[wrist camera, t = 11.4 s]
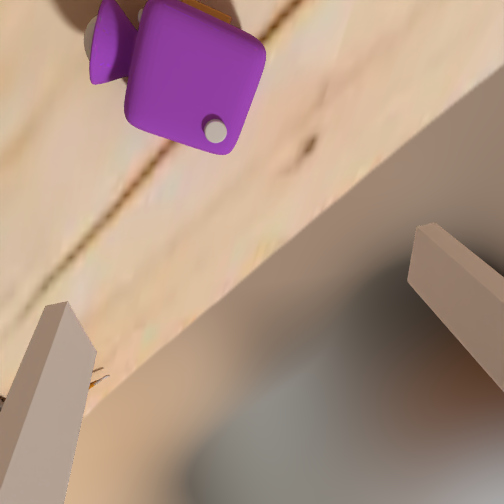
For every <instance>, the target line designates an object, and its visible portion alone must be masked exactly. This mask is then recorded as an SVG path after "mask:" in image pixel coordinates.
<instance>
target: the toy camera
mask: <svg viewBox="0 0 504 504" xmlns="http://www.w3.org/2000/svg"><path fill="white" fill-rule="evenodd" d="M231 19H232V17H230V16H228V15H226V14H224V13H222V12H220V11H217V10H215V9H213V8H211V7H209V6H206V5H204V4H202V3H200V2H198V1H195V0H182V1H179V0H148V1H147V3H146V4H145V7H144V9H143V8H142V9H140V11H139V13H138V22H139V23H140V24H139V28H138V31H137V30H136V29H135V27H134V26H133V25H132V23H131V22H130V21H129V19H128V18H127V16H126V15H125V13H124V12H123V10H122V9H121V8H120V6H119V5H118V4H117V2H116V1H115V0H102V3H101V5H100V8H99V11H98V15H96V16H95V17H94V18H92V19H91V21H90V22H89V23H88V25H87V28H86V30H85V34H84V47H85V51H86V55H87V57H88V59H89V61H90V66H89V71H90V80H91V83H92V84H95V85H96V84H102V83H106V82H109V81H113V80H116V79H119V78H122V77H126V76H129V78H128V83H127V89H126V95H125V102H124V112H125V117H126V119H127V121H128V122H129V123H130V124H131V125H133V126H134V127H136V128H138V129H141V130H143V131H146V132H149V133H152V134H155V135H158V136H161V137H164V138H167V139H170V140H173V141H176V142H179V143H182V144H185V145H188V146H191V147H194V148H197V149H200V150H203V151H206V152H209V153H213V154H218V155H226V154H228V153H230V152H231V151H232V149H233V148H234V146H235V144H236V142H237V140H238V138H239V135H240V133H241V130H242V127H243V125H244V122H245V119H246V116H247V114H248V111H249V108H250V106H251V103H252V100H253V97H254V95H255V92H256V89H257V87H258V84H259V81H260V78H261V75H262V72H263V69H264V66H265V61H266V51H265V48H264V46H263V44H262V43H261V42H260V41H259V40H258V39H257V38H255V37H254V36H252V35H250V34H249V33H247V32H245V31H243V30H241V29H239V28H237V27H235V26H233V25H230V23H231Z"/></svg>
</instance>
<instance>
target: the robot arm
mask: <svg viewBox="0 0 504 504" xmlns="http://www.w3.org/2000/svg"><path fill="white" fill-rule="evenodd" d="M407 281H408V283H409V284H410V285H411V286H412V287H413V288H414V289H415V291H416V292H417V293H418V294H419V295H420V297H421V298H422V299H423V300H424V301H425V302H426V303H427V305H428V306H429V307H430V308H431V309H432V310H433V311H434V313H436V315H437V316H438V317H439V318H440V319H441V321H442V322H443V323H444V324H445V325H446V326H447V327H448V329H449V330H450V331H451V332H452V333H453V334H454V335H455V336H456V338H457V339H458V340H459V341H460V342H461V344H462V345H463V346H464V347H465V348H466V349H467V350H468V351H469V353H470V354H471V355H472V356H473V357H474V358H475V360H476V361H477V362H478V363H479V364H480V365H481V366H482V368H483V369H484V370H485V371H486V372H487V373H488V374H489V376H490V377H491V378H492V379H493V380H494V381H495V382H496V383H497V385H498V386H499V387H500V388H501V389H502V390H503V392H504V277H502V276H501V275H500V274H499V273H497V272H496V271H495V270H494V269H492V268H491V267H490V266H489V265H487V264H486V263H485V262H484V261H482V260H481V259H480V258H478V257H477V256H476V255H475V254H474V253H472V252H471V251H470V250H469V249H467V248H466V247H465V246H464V245H462V244H461V243H460V242H459V241H457V240H456V239H455V238H454V237H452V236H451V235H450V234H449V233H447V232H446V231H445V230H444V229H443V228H441V227H440V226H439V225H437V224H436V223H431V224H426V225H422V226H417V227H416V232H415V238H414V244H413V250H412V256H411V262H410V268H409V273H408V279H407ZM96 354H97V351H96V349H95V348H94V346H93V344H92V343H91V341H90V339H89V337H88V336H87V334H86V332H85V331H84V329H83V327H82V325H81V324H80V322H79V320H78V318H77V317H76V315H75V313H74V312H73V310H72V308H71V306H70V305H69V303H68V301H67V302H62V303H57V304H53V305H48V306H45V308H44V310H43V313H42V315H41V318H40V320H39V322H38V325H37V327H36V329H35V332H34V334H33V336H32V339H31V341H30V343H29V346H28V348H27V350H26V353H25V355H24V357H23V360H22V362H21V364H20V367H19V369H18V371H17V374H16V376H15V379H14V381H13V383H12V386H11V388H10V390H9V393H8V395H7V397H6V400H5V402H4V404H3V407H2V409H1V411H0V504H64V500H65V496H66V491H67V487H68V482H69V477H70V473H71V468H72V464H73V459H74V455H75V449H76V445H77V441H78V436H79V432H80V427H81V422H82V418H83V413H84V409H85V404H86V399H87V395H88V390H89V386H90V381H91V376H92V372H93V367H94V363H95V358H96Z"/></svg>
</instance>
